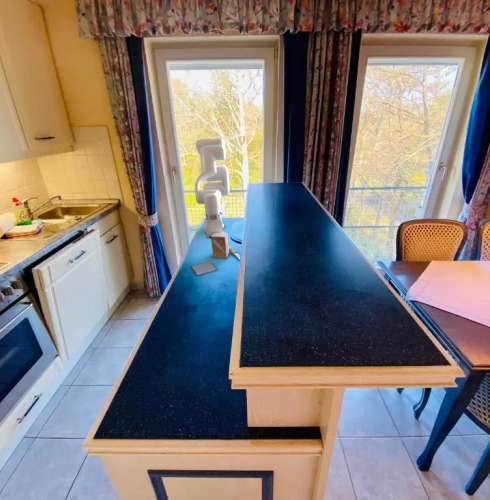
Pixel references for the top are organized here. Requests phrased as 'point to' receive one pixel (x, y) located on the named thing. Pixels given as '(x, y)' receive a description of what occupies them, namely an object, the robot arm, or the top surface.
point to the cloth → (203, 268)
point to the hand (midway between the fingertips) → (215, 245)
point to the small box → (220, 244)
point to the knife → (234, 252)
